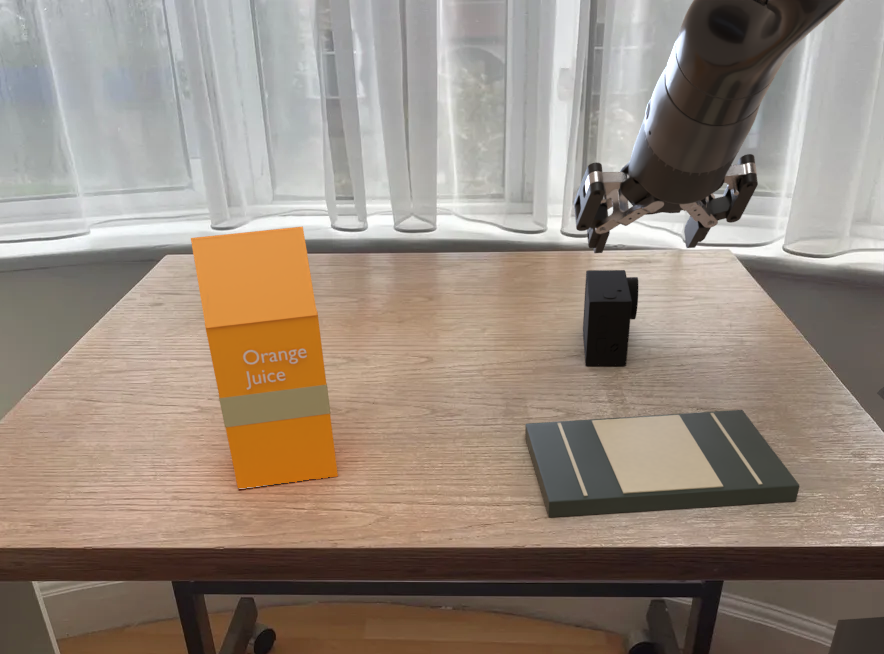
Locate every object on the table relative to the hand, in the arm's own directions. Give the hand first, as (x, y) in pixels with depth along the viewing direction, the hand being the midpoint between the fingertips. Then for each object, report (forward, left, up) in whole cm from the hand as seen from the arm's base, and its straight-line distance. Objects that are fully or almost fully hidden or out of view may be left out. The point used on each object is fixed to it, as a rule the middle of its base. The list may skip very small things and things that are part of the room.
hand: (643, 241), depth 82 cm
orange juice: (+34, +12, -14) cm, 39 cm away
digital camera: (0, -10, -14) cm, 18 cm away
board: (+2, +17, -14) cm, 22 cm away
